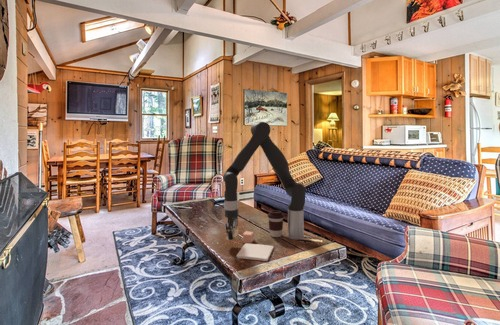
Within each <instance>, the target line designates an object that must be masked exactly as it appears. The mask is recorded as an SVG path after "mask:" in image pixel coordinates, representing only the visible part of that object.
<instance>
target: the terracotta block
mask: <svg viewBox="0 0 500 325" xmlns="http://www.w3.org/2000/svg"><path fill="white" fill-rule="evenodd" d="M253 242H254V231H247V230H246V231H244V232H243V234H242V243H244V244H245V243H249V244H253Z"/></svg>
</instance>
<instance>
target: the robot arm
mask: <svg viewBox="0 0 500 325" xmlns="http://www.w3.org/2000/svg"><path fill="white" fill-rule="evenodd" d="M250 127H251V128H250V133H251V137H250V139H249V141H248V142H247V143H246V144H245V145H244V147H243V148H241V150H240V151H239V153H237V155H236V156H235V159H233V162H232V164H230V166H229V167H228V168H227V169H226V171H225V172H224V174H223V176H222V180H223V182H224V186H225V188H224V189H225V190H224V193H223V194H224V204H223V205H224V206H223V208H224V217H225V218H227V220H226V223H225V224H224V225H225V234H226V233H228V238H229V240H228V241H233V240H232V239H233V234H232V233H233V229H234V228H238V226H239V225H238V221H239V220H238V219H239V202H238V186H239V185H238V184H239V183H238V181H239V179H238V176H239V174H240V173H241V172H243V171H244V169H245V168H246V166H247V164H248V163H249V161H250V160H251V158H252V157H253V156H254V154H255V152H256V151H257V150H258V148H259V147H260V148H261V149H262V152H263V153H264V156H265V157H266V158H267V161H268V163H269V164H270V166H271V168H272V169H273V171H274V172H275V174H276V176H277V177H278V179H279V180H280V182H281V184H282V187H283V189H284V191H285V192H286V194H287V196H289V197H291V199H290V200H291V202H290V203H288V204H287V238H288V239H291V240H304V236H305V234H304V231H305V226H304V225H305V224H304V223H305V220H304V209H305V208H304V207H305V206H306V205H305V204H306V187H305V185H303V184H302V183H299V182H297V181H295V179H294V178H293V176H292V174H291V172H290V167H289V166H290V165H289V163H288V160H287V158H286V156H285V155H284V153H283V151H282V150H281V149H280V148H279V147H278V146H277V145H276V144H275V143H274V142H273V140H272V138H271V136H270V134H271V126H270V125H269V123H268V122H265V121H257V122H256V121H255V122H254V123H253V124H252V125H251V126H250ZM229 230H230V231H229Z"/></svg>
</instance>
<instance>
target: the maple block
mask: <svg viewBox="0 0 500 325" xmlns="http://www.w3.org/2000/svg"><path fill="white" fill-rule="evenodd" d="M229 231H230V230H229ZM232 234H233V239H232V240H231V241H237V240H238V239H239V237H240V236H239V234H240V233H239V228H238V227H237V228H234V229H233V233H232ZM225 241H230V240H229V238H228V233H226V232H225Z"/></svg>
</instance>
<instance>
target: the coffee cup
mask: <svg viewBox="0 0 500 325" xmlns="http://www.w3.org/2000/svg"><path fill="white" fill-rule="evenodd" d="M267 217H268V228H269V236H270V237H273V238H280V237H282V236H283V235H282V234H283V228H284V218H285V214H284V213H283V212H282V210H278V209H275V210H270V211H269V212H268V213H267Z"/></svg>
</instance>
